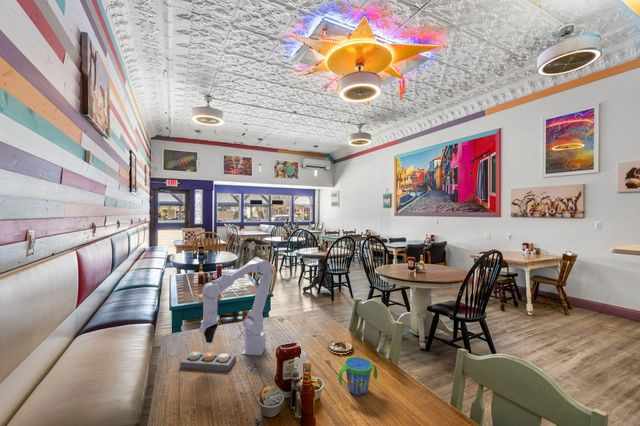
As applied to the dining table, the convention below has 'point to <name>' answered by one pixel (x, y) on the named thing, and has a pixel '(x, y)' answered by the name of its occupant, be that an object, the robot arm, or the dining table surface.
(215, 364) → the button board
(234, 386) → the dining table surface
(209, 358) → the terracotta button
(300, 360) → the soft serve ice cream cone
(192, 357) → the sage button
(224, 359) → the cream button
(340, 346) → the brown white round dish
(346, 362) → the snack cup
